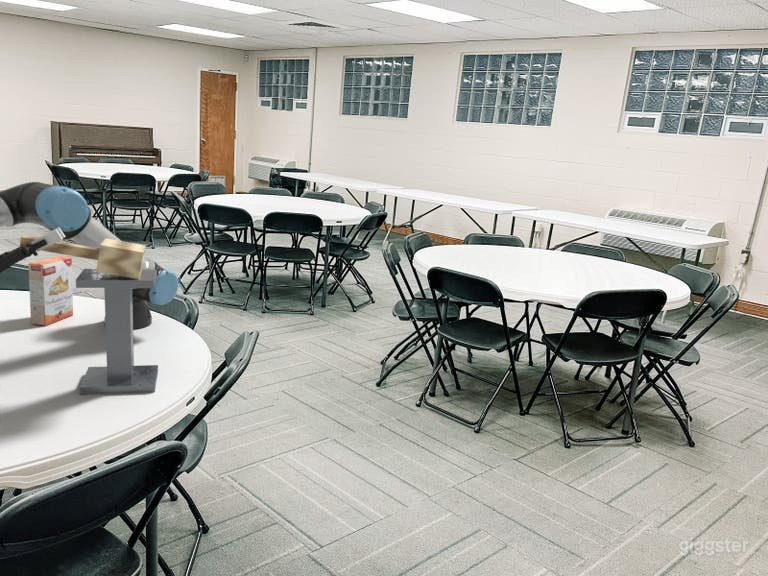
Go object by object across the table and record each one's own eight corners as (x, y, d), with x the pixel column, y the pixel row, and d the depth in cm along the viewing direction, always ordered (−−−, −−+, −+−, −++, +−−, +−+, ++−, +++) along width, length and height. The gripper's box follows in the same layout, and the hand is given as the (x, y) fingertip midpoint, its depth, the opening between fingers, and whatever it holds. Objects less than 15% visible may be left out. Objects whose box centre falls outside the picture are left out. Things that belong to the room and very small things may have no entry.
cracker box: (46, 326, 207) (43, 264, 202) (30, 324, 208) (26, 262, 203) (74, 315, 220) (72, 257, 215) (59, 313, 221) (56, 255, 216)
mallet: (14, 258, 150) (18, 230, 149) (24, 251, 158) (28, 224, 157) (138, 279, 159) (143, 252, 158) (141, 270, 168) (145, 245, 166)
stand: (79, 394, 160) (74, 280, 153) (88, 373, 173) (84, 267, 166) (154, 391, 165) (153, 281, 158) (158, 371, 178) (156, 268, 171)
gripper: (-11, 283, 161) (75, 240, 164) (-31, 299, 147) (63, 252, 150) (-29, 258, 159) (58, 215, 161) (-52, 272, 144) (44, 225, 147)
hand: (60, 233), depth 156 cm, fingers closed on mallet, 2 cm apart
